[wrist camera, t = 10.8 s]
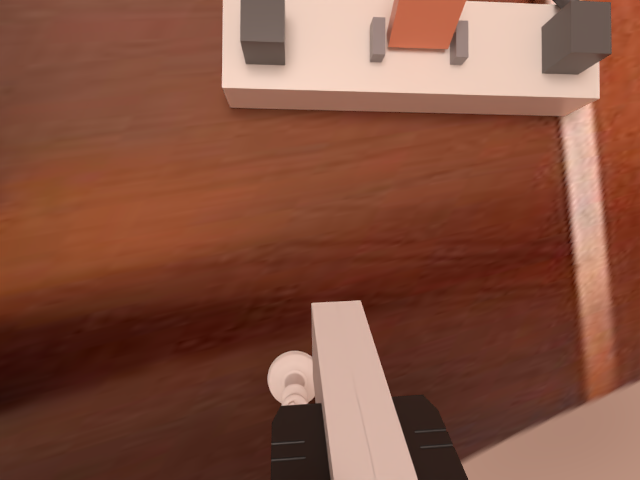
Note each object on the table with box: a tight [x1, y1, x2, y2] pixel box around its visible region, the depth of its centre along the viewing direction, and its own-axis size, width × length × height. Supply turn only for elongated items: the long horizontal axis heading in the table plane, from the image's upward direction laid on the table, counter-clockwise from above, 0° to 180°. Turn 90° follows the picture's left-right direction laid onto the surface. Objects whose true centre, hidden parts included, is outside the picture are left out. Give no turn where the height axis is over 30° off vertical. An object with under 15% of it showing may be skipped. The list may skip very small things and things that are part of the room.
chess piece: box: [267, 351, 315, 406], centre depth 36 cm, size 5×5×10 cm
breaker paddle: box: [386, 0, 466, 49], centre depth 34 cm, size 2×5×6 cm, turn 91°
